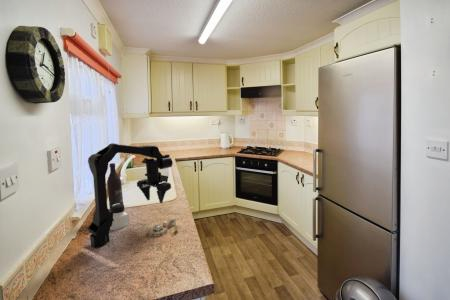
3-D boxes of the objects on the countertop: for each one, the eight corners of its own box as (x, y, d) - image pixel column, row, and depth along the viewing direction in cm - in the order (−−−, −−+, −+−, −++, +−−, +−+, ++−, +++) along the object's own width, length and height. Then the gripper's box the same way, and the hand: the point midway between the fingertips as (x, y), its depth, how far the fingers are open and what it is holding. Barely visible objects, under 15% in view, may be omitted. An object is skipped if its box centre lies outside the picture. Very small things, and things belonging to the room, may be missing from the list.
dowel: (176, 233, 120) (176, 226, 119) (174, 232, 121) (173, 225, 120) (179, 231, 121) (178, 224, 121) (176, 231, 122) (176, 224, 122)
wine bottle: (118, 219, 141) (112, 165, 136) (107, 218, 143) (102, 164, 139) (127, 215, 147) (122, 162, 143) (117, 213, 150) (111, 162, 145)
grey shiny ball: (157, 234, 119) (157, 228, 119) (153, 232, 121) (153, 226, 121) (162, 231, 122) (161, 225, 121) (158, 230, 123) (157, 224, 123)
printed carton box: (130, 227, 131) (127, 204, 129) (116, 232, 126) (113, 208, 124) (123, 223, 136) (121, 201, 134) (109, 228, 131) (107, 205, 129)
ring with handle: (156, 238, 115) (156, 231, 115) (144, 233, 120) (143, 227, 120) (180, 225, 127) (180, 219, 127) (168, 221, 132) (167, 216, 132)
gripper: (178, 169, 130) (179, 199, 133) (152, 166, 141) (154, 194, 143) (161, 174, 121) (163, 206, 123) (135, 170, 131) (137, 200, 134)
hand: (154, 201), depth 131 cm, fingers open, 9 cm apart
